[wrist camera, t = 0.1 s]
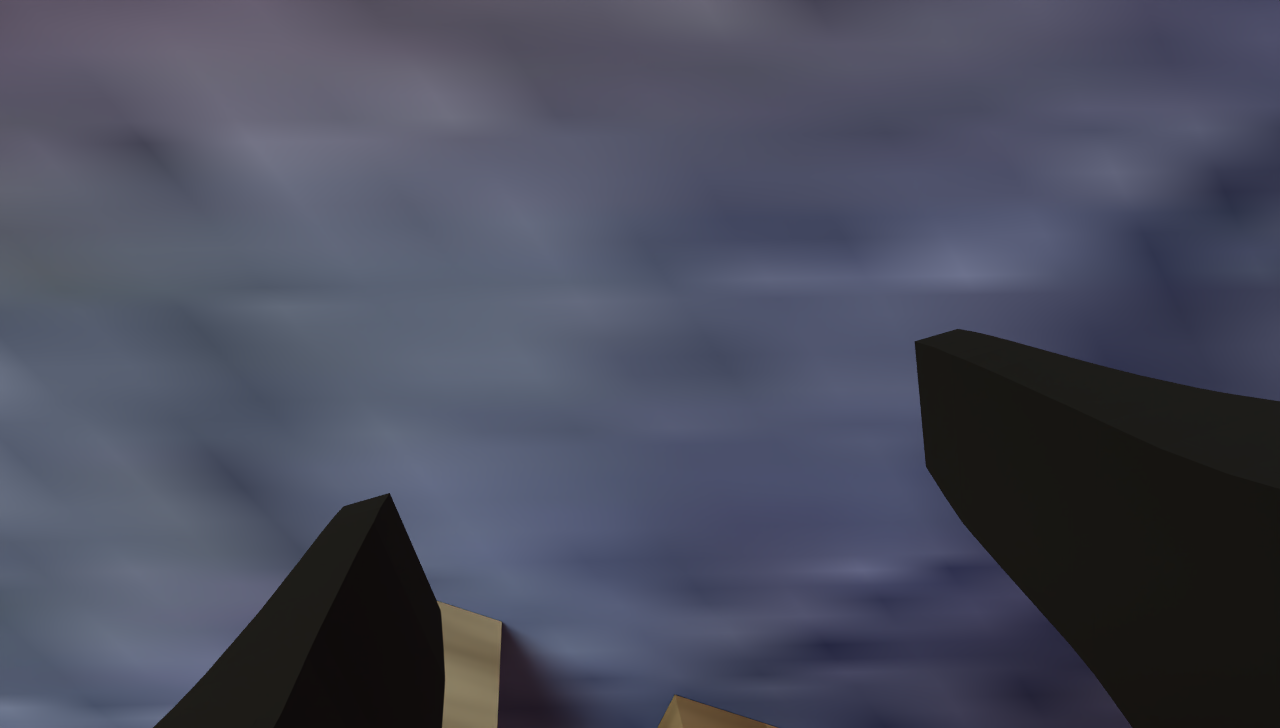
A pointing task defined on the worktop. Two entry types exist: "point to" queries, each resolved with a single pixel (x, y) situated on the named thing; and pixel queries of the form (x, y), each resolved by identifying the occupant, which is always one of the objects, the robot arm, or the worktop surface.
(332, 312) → the worktop surface
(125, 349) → the worktop surface
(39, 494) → the worktop surface
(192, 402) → the worktop surface
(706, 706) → the bracket
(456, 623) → the beige block
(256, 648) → the robot arm
